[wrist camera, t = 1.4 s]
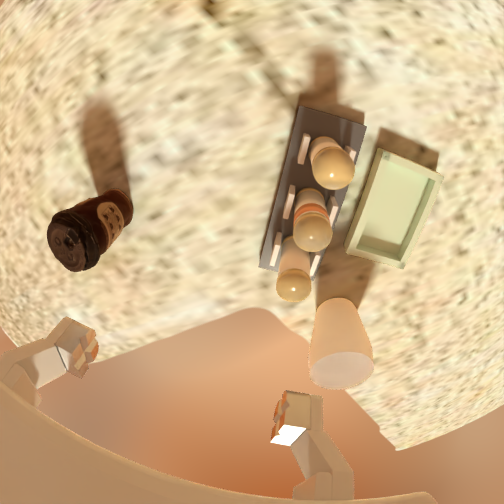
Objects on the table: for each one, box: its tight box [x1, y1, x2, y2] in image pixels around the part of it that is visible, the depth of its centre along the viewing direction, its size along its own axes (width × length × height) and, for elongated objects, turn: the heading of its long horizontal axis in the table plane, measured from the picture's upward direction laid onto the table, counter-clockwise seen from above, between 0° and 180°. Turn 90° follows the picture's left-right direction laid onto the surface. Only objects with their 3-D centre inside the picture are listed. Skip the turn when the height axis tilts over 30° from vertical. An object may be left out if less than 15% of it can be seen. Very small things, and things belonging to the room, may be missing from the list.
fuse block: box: [259, 106, 367, 281], centre depth 33 cm, size 22×8×5 cm, turn 168°
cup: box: [308, 298, 374, 390], centre depth 39 cm, size 9×9×12 cm
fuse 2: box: [308, 136, 355, 190], centre depth 27 cm, size 4×4×9 cm
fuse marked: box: [293, 187, 332, 252], centre depth 30 cm, size 4×4×9 cm
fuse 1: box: [276, 234, 311, 302], centre depth 33 cm, size 4×4×9 cm
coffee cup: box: [47, 189, 133, 272], centre depth 34 cm, size 9×8×13 cm
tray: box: [344, 147, 444, 269], centre depth 33 cm, size 14×9×2 cm, turn 168°
